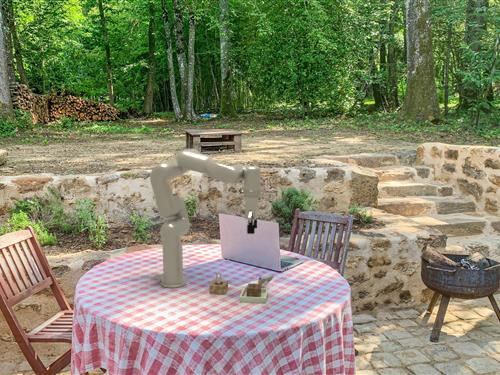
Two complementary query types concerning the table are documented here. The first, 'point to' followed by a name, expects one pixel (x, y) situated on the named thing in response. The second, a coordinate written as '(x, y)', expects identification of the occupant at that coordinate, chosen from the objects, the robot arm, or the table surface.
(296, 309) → the table surface
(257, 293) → the block
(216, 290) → the brown hex nut
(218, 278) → the pin
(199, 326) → the table surface
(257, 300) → the tray
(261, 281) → the caliper
